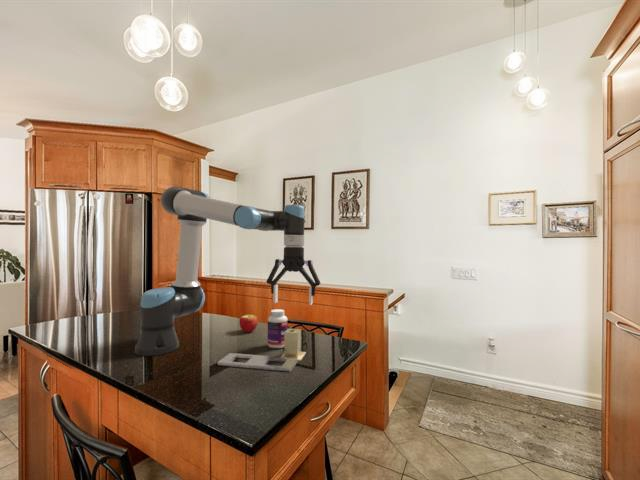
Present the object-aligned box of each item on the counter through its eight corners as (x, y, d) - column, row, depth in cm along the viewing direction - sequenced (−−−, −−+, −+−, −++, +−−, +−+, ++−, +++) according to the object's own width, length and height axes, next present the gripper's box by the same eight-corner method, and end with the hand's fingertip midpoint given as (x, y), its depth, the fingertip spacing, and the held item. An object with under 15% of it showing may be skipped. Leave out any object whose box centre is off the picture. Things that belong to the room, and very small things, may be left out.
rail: (217, 365, 105) (217, 362, 105) (230, 355, 114) (230, 352, 114) (290, 371, 100) (290, 368, 100) (297, 361, 109) (297, 358, 109)
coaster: (279, 359, 111) (279, 358, 111) (285, 351, 119) (285, 350, 119) (300, 360, 110) (300, 359, 110) (305, 353, 117) (305, 351, 117)
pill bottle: (283, 350, 120) (284, 313, 121) (264, 348, 122) (264, 312, 122) (289, 343, 128) (290, 309, 128) (271, 342, 130) (271, 308, 130)
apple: (261, 330, 147) (261, 309, 147) (248, 335, 139) (248, 313, 139) (248, 328, 151) (248, 307, 151) (235, 332, 144) (235, 310, 144)
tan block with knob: (288, 352, 117) (288, 328, 117) (301, 353, 116) (301, 329, 116) (284, 356, 112) (284, 332, 112) (297, 358, 111) (297, 333, 111)
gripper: (258, 246, 113) (257, 303, 113) (325, 247, 109) (324, 307, 108) (265, 245, 121) (264, 299, 120) (328, 247, 116) (327, 303, 116)
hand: (292, 303), depth 114 cm, fingers open, 13 cm apart
